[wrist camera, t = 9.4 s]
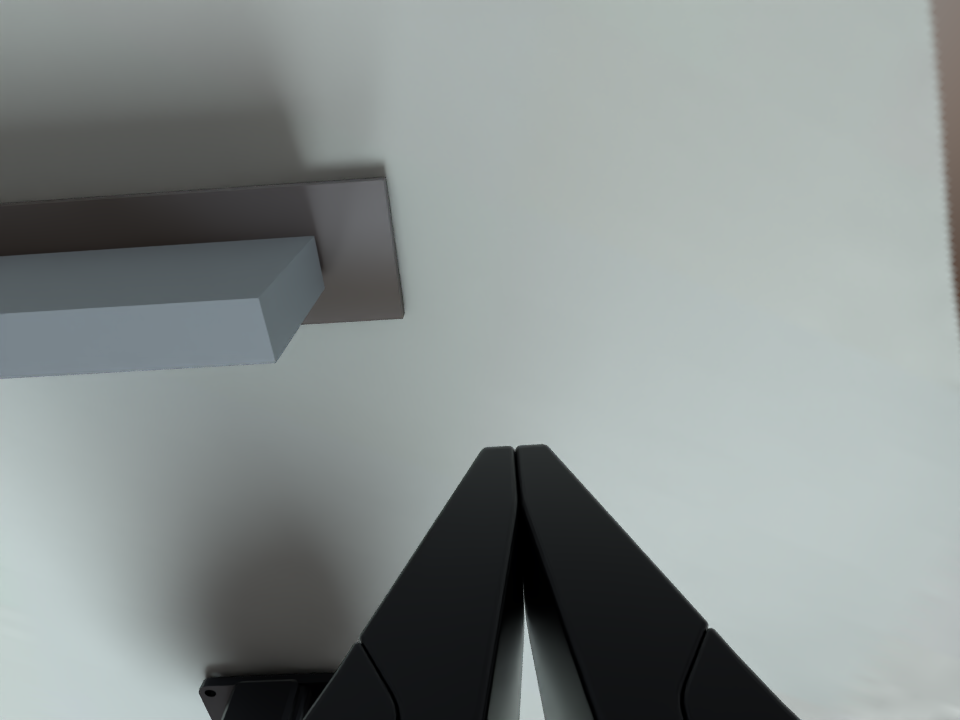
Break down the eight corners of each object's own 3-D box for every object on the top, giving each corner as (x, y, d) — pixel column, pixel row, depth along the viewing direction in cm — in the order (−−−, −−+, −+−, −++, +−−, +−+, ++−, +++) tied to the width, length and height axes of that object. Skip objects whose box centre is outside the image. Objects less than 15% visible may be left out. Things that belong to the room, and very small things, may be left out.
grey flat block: (325, 292, 16) (277, 369, 13) (-84, 318, 17) (-252, 399, 13) (312, 230, 16) (256, 290, 12) (-118, 258, 16) (-310, 325, 12)
